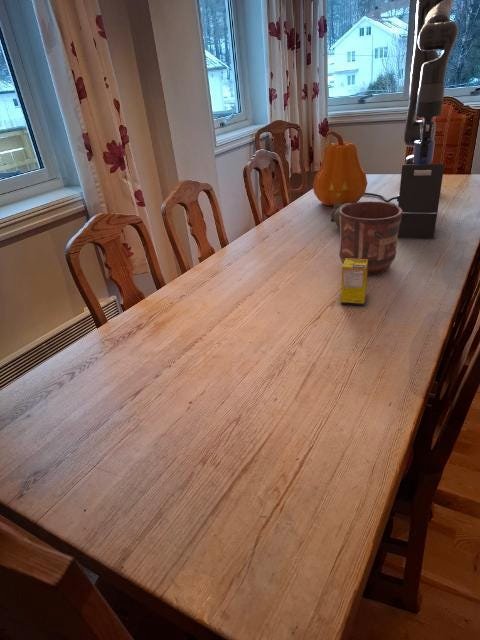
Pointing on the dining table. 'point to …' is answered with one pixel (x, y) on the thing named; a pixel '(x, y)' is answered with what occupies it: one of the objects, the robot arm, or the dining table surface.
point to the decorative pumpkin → (340, 174)
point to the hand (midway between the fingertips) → (423, 155)
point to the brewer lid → (420, 187)
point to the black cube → (417, 225)
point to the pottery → (370, 233)
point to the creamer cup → (417, 153)
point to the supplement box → (354, 281)
